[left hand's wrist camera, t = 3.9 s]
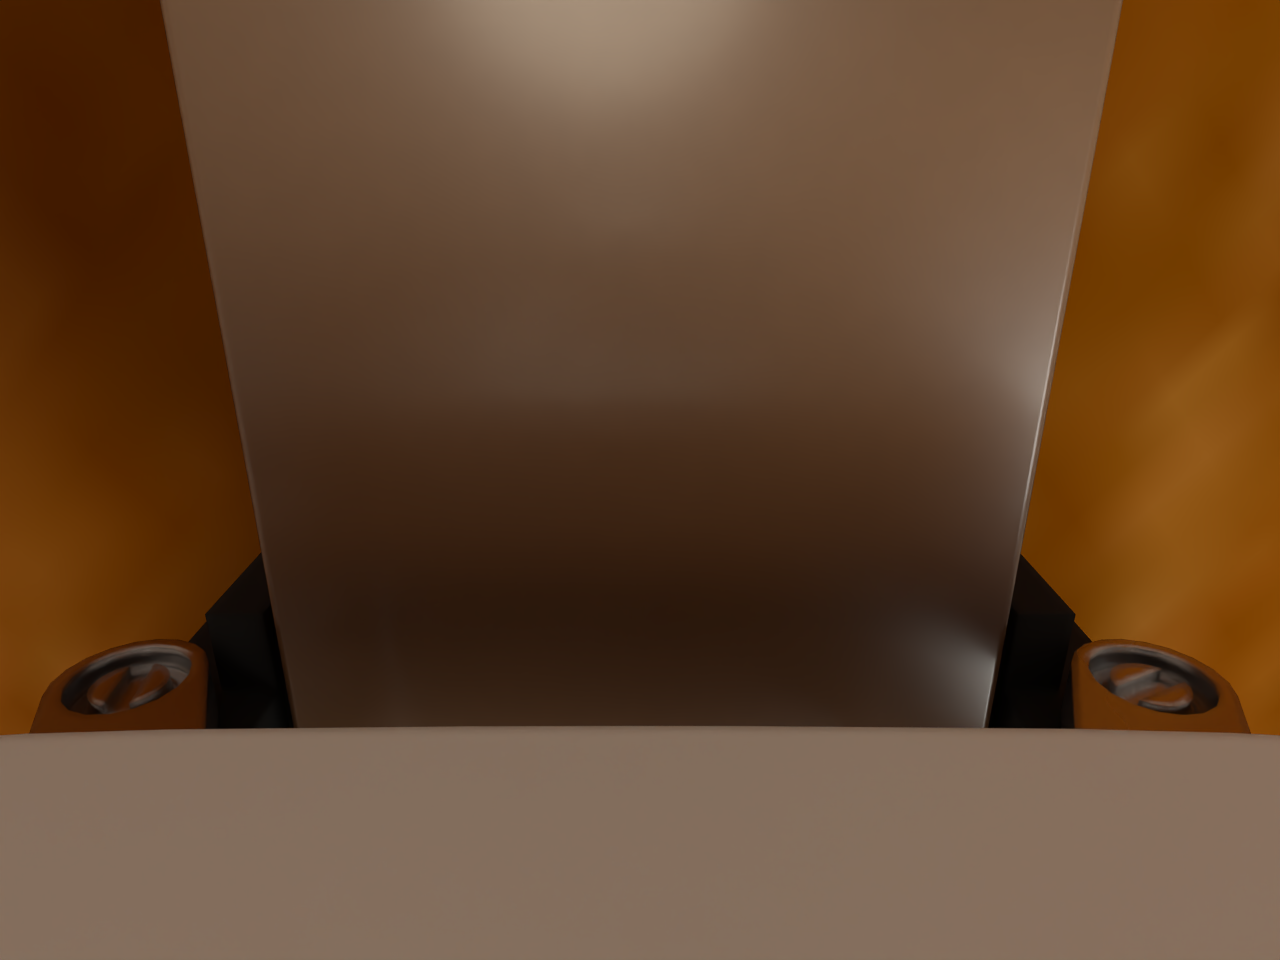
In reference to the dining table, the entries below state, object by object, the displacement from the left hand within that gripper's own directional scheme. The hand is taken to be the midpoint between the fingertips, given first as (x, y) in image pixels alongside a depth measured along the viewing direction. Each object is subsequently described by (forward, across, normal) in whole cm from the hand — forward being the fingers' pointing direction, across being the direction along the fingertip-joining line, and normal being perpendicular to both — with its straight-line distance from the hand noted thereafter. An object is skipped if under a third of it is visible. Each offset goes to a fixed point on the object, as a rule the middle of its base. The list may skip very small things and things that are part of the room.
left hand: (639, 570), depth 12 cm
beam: (+2, 0, -21) cm, 21 cm away
